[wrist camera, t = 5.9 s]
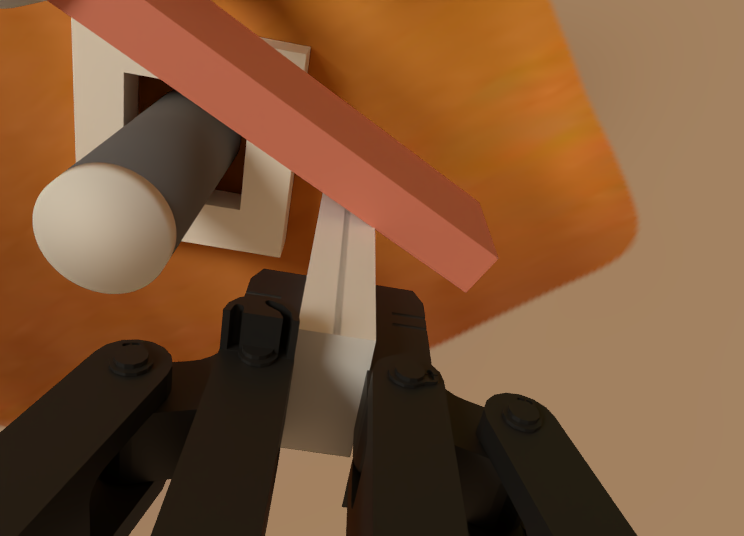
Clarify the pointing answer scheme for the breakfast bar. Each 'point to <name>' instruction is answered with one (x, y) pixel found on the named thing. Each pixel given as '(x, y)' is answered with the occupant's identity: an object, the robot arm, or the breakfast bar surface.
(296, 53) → the socket
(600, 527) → the robot arm
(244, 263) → the breakfast bar surface
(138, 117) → the dark grey cylinder
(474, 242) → the clip
